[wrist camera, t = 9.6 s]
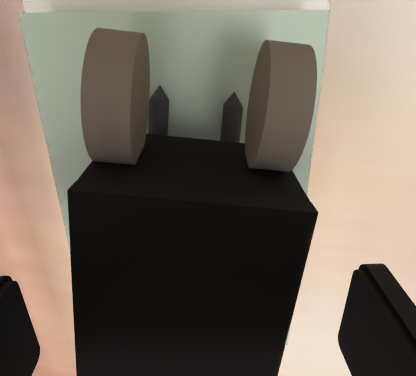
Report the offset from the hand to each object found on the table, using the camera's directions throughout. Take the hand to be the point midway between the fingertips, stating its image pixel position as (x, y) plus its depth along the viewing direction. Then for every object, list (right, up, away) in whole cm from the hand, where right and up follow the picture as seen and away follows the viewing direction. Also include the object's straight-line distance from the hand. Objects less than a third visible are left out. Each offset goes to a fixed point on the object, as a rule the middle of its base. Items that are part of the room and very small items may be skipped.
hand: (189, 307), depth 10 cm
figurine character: (-1, +2, +6) cm, 7 cm away
